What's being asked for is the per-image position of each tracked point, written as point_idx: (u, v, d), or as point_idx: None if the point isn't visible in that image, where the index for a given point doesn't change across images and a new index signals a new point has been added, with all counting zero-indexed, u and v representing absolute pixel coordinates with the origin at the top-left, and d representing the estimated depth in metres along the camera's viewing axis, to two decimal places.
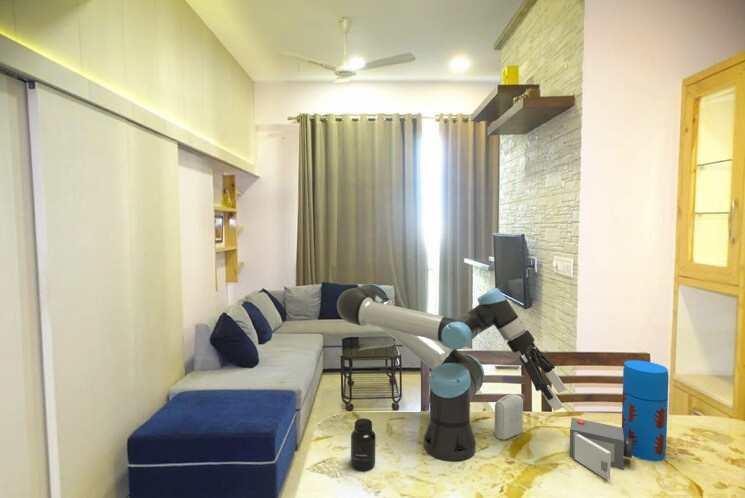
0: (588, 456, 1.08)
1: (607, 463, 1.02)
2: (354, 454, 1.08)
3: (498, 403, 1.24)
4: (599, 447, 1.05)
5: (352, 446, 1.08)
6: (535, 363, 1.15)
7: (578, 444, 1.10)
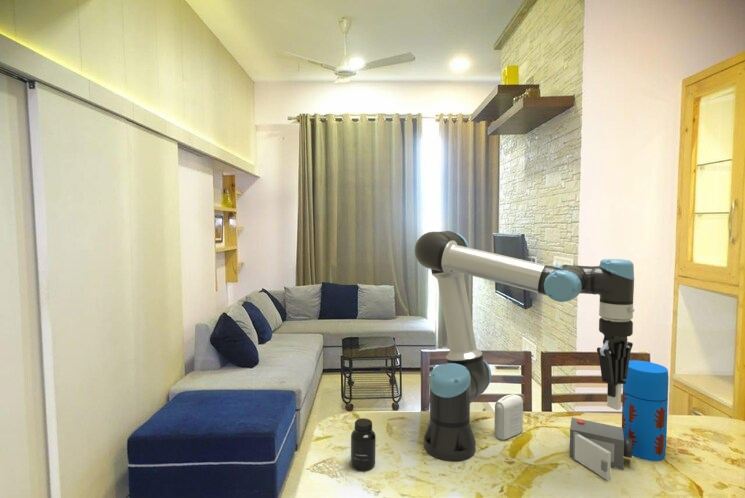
0: (588, 456, 1.08)
1: (607, 463, 1.02)
2: (354, 454, 1.08)
3: (498, 403, 1.24)
4: (599, 447, 1.05)
5: (353, 446, 1.08)
6: (615, 358, 1.03)
7: (578, 444, 1.10)
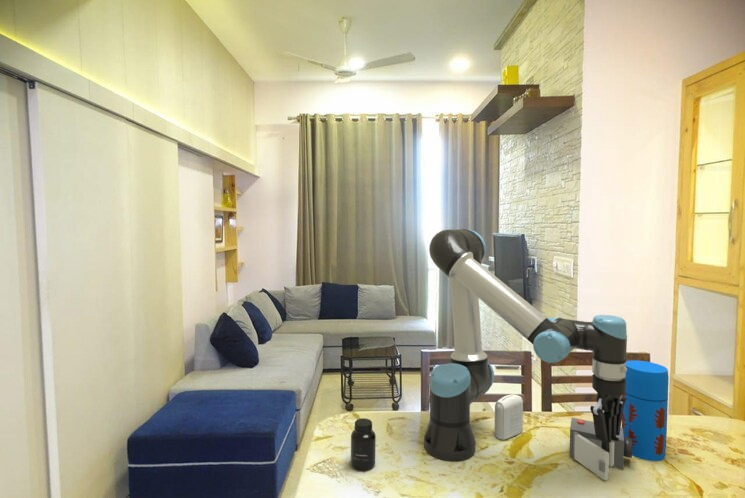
0: (587, 456, 1.07)
1: (605, 463, 1.02)
2: (354, 454, 1.08)
3: (498, 403, 1.24)
4: (597, 447, 1.05)
5: (353, 446, 1.08)
6: (608, 416, 1.03)
7: (578, 444, 1.10)
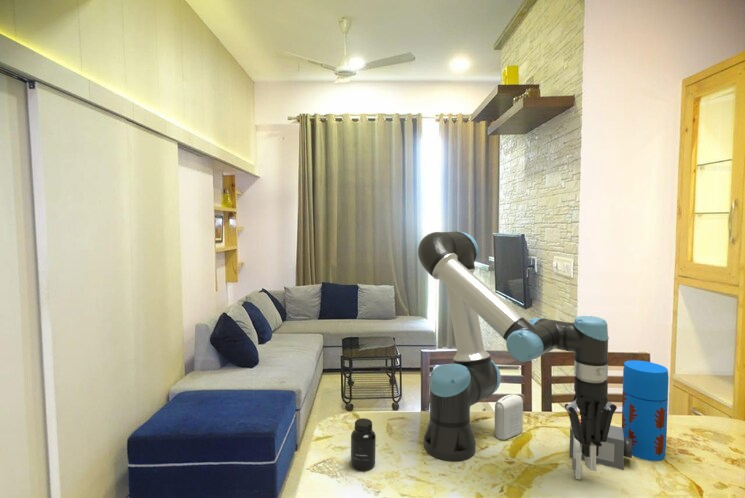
0: (574, 455, 1.08)
1: (576, 462, 1.03)
2: (354, 454, 1.08)
3: (498, 403, 1.24)
4: (577, 447, 1.05)
5: (353, 446, 1.08)
6: (586, 418, 1.02)
7: (573, 443, 1.11)
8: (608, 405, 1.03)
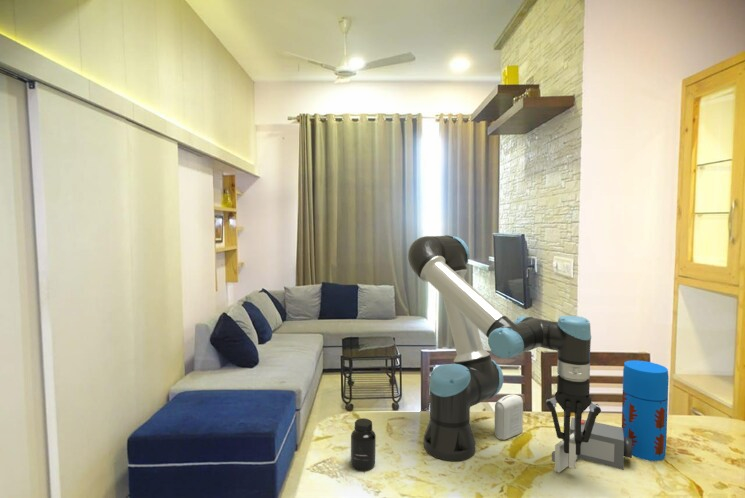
0: None
1: (554, 454, 1.06)
2: (354, 454, 1.08)
3: (498, 403, 1.24)
4: (562, 442, 1.07)
5: (353, 446, 1.08)
6: (565, 414, 1.04)
7: None
8: (592, 407, 1.02)
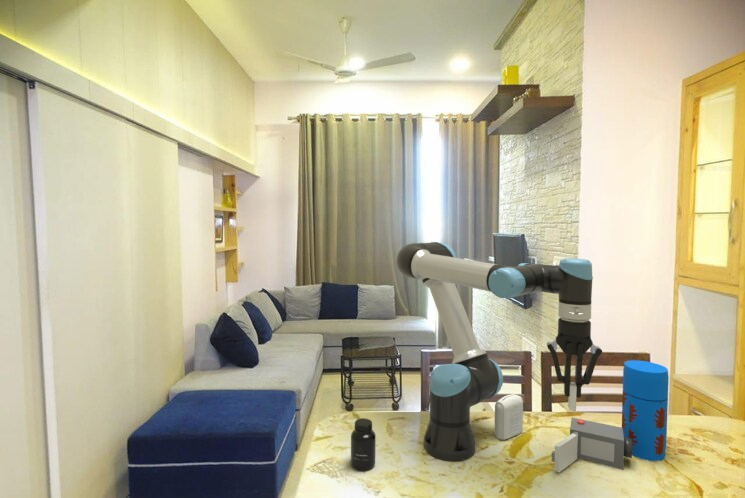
0: None
1: (554, 454, 1.06)
2: (354, 454, 1.08)
3: (498, 403, 1.24)
4: (561, 442, 1.07)
5: (353, 446, 1.08)
6: (565, 357, 1.03)
7: None
8: (593, 348, 1.01)
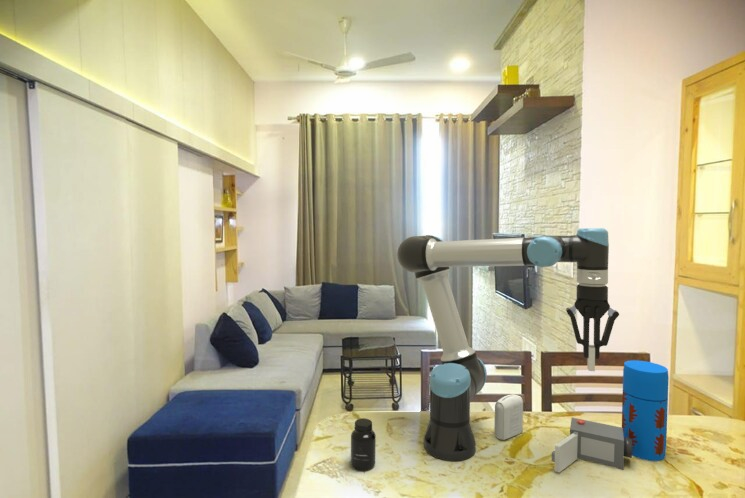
0: None
1: (554, 454, 1.06)
2: (354, 454, 1.08)
3: (498, 403, 1.24)
4: (561, 442, 1.07)
5: (353, 446, 1.08)
6: (584, 320, 1.10)
7: None
8: (611, 312, 1.08)
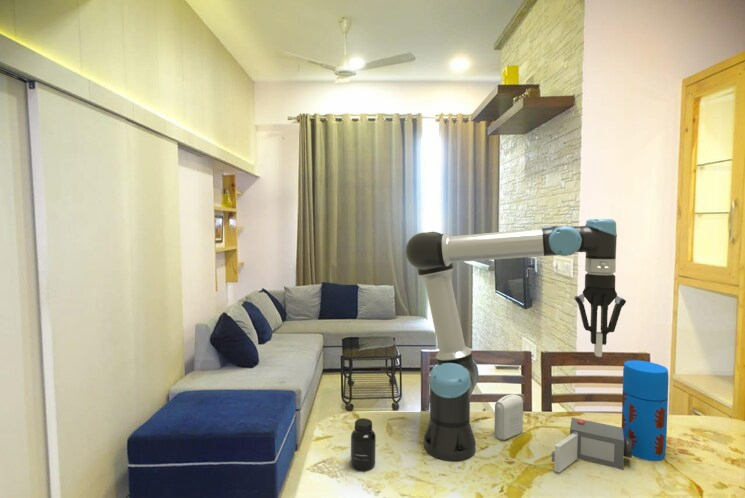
0: None
1: (554, 454, 1.06)
2: (354, 454, 1.08)
3: (498, 403, 1.24)
4: (561, 442, 1.07)
5: (353, 446, 1.08)
6: (592, 308, 1.14)
7: None
8: (618, 299, 1.12)
